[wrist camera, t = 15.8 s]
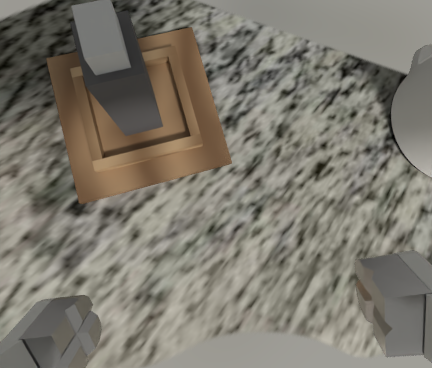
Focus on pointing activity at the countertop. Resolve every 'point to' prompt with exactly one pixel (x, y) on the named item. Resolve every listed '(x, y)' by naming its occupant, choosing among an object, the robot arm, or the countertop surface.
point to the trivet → (149, 140)
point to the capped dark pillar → (115, 66)
